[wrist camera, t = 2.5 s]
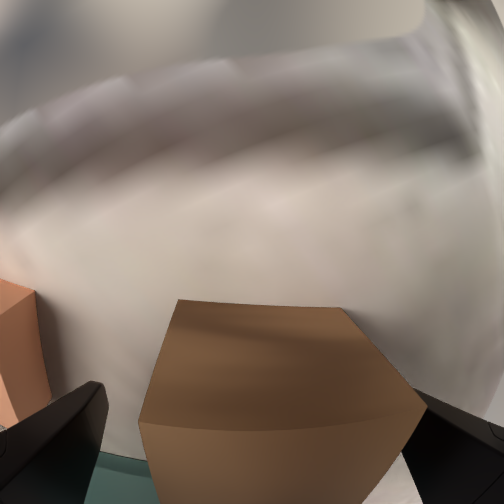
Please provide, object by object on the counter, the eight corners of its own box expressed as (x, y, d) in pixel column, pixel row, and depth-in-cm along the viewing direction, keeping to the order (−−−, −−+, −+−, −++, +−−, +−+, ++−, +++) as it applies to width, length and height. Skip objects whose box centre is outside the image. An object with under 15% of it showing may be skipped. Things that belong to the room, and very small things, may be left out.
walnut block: (181, 417, 9) (170, 529, 5) (178, 298, 8) (137, 421, 3) (309, 418, 10) (347, 518, 5) (339, 306, 9) (427, 406, 4)
